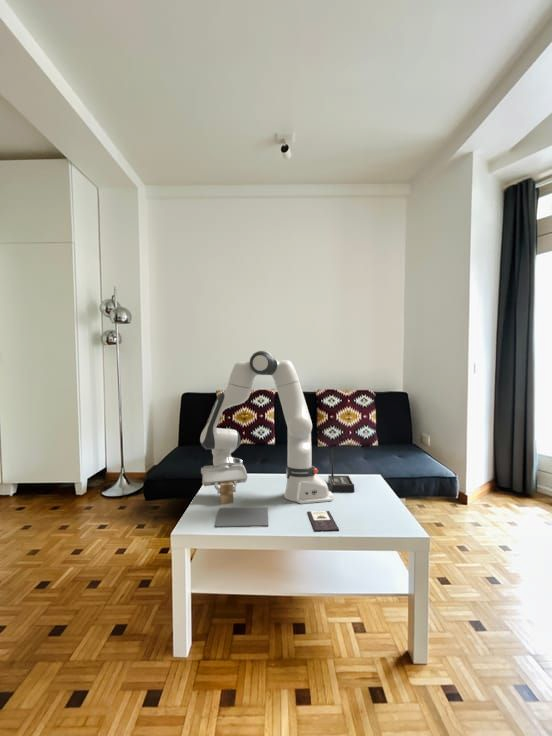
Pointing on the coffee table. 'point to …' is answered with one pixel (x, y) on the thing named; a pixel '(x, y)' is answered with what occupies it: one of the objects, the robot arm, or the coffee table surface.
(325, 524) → the chocolate bar
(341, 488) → the wireless controller
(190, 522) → the coffee table surface
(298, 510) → the coffee table surface
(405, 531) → the coffee table surface
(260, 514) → the charcoal mat
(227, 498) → the oak block
